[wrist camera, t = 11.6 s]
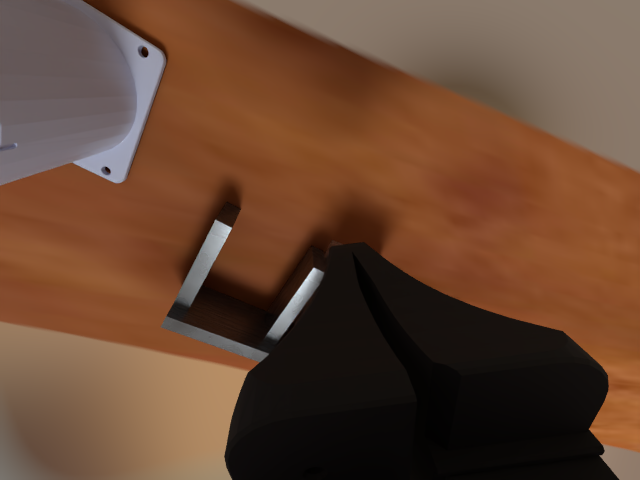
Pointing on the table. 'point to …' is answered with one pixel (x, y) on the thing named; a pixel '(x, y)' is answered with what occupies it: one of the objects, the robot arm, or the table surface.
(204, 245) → the rack
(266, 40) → the table surface
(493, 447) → the robot arm
